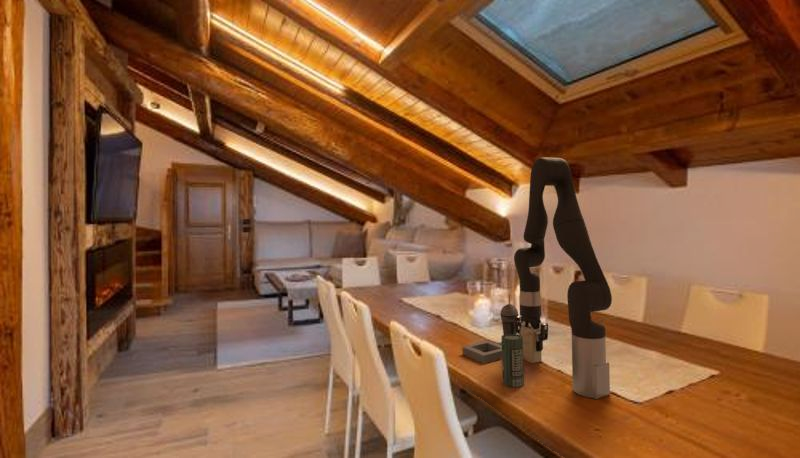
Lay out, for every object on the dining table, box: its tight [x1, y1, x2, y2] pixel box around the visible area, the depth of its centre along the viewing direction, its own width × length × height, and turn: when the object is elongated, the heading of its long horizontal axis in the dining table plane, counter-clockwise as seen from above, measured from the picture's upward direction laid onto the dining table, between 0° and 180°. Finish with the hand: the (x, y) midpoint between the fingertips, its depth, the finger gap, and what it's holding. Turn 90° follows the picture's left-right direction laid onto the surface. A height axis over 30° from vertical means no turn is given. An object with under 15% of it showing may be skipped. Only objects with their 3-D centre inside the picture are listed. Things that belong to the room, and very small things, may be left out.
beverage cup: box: [499, 294, 519, 335], centre depth 173 cm, size 7×7×20 cm
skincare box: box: [521, 326, 542, 364], centre depth 153 cm, size 6×4×12 cm
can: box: [500, 334, 525, 389], centre depth 133 cm, size 6×6×15 cm
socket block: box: [462, 340, 502, 365], centre depth 159 cm, size 12×13×3 cm
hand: (531, 348), depth 153 cm, fingers open, 6 cm apart
